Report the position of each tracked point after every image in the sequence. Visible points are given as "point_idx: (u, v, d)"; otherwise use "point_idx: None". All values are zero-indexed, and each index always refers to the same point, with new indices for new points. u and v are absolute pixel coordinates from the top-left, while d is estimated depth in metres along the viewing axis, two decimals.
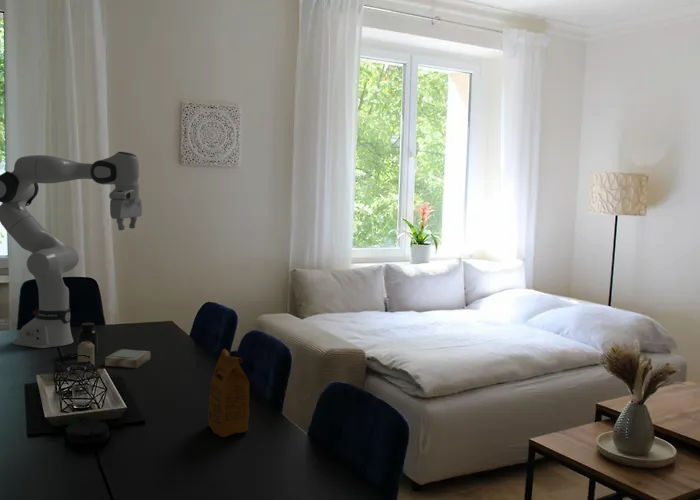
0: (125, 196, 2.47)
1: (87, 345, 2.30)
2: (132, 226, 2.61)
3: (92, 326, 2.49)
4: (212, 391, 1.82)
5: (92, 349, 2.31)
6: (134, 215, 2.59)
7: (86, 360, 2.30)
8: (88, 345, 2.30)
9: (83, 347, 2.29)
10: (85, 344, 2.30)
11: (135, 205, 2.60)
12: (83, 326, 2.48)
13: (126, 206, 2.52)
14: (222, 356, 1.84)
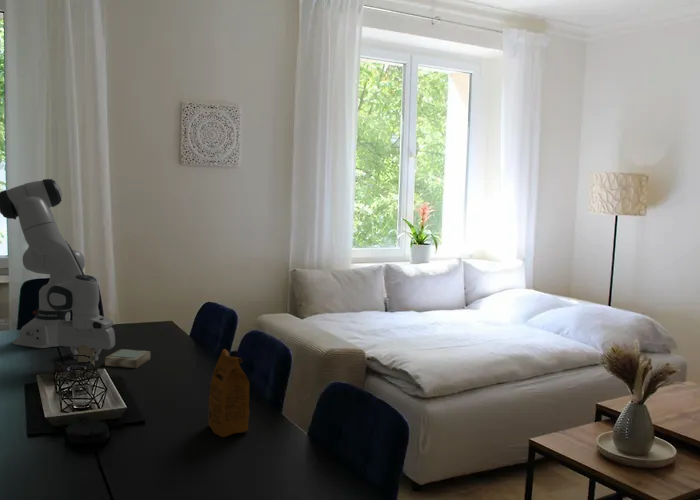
0: None
1: None
2: None
3: None
4: (212, 391, 1.82)
5: (92, 349, 2.31)
6: None
7: (86, 360, 2.30)
8: None
9: (83, 347, 2.29)
10: None
11: None
12: None
13: None
14: (222, 356, 1.84)
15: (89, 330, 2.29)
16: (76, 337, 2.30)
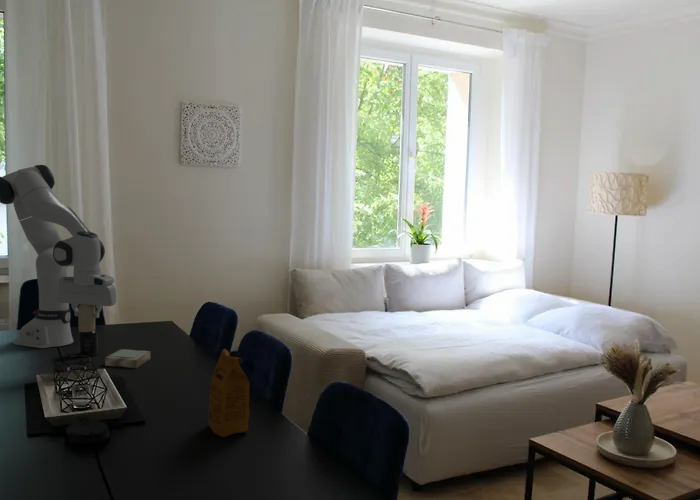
0: None
1: (88, 305, 2.29)
2: None
3: None
4: (212, 391, 1.82)
5: (93, 310, 2.30)
6: None
7: (87, 320, 2.28)
8: (89, 305, 2.29)
9: (84, 307, 2.28)
10: None
11: None
12: None
13: None
14: (222, 356, 1.84)
15: (90, 287, 2.27)
16: (77, 294, 2.28)
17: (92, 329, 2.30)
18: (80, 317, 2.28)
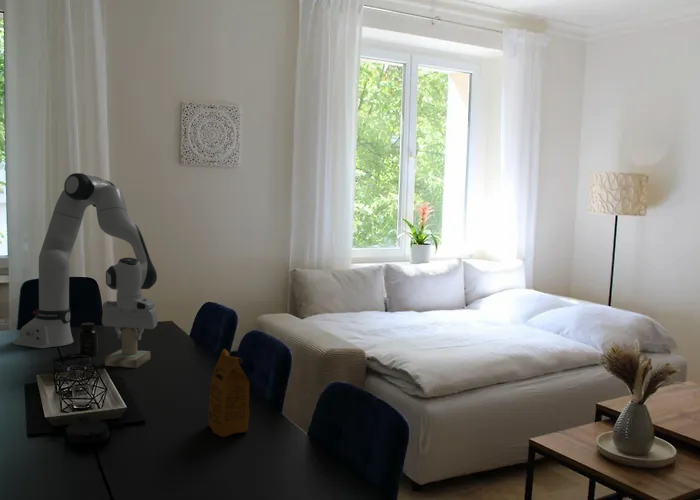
0: None
1: (131, 330, 2.41)
2: None
3: (92, 326, 2.49)
4: (212, 391, 1.82)
5: (135, 334, 2.42)
6: None
7: (130, 344, 2.41)
8: (132, 330, 2.41)
9: (127, 332, 2.40)
10: (129, 329, 2.41)
11: None
12: (83, 326, 2.48)
13: None
14: (222, 356, 1.84)
15: (133, 311, 2.39)
16: (120, 317, 2.40)
17: (135, 352, 2.42)
18: (124, 341, 2.40)
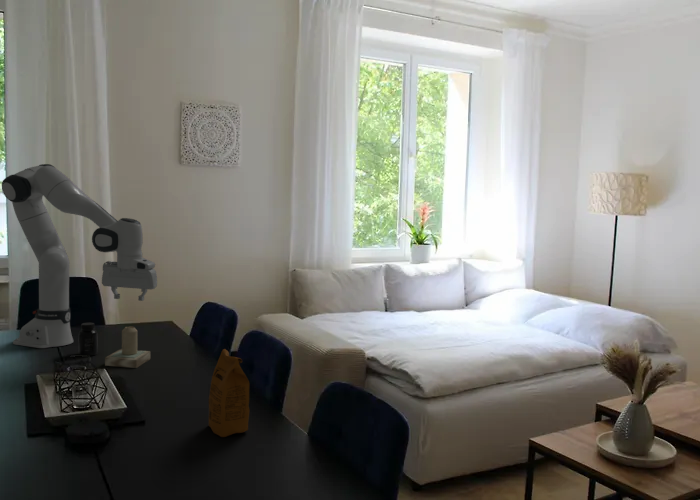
0: None
1: (131, 330, 2.41)
2: (119, 296, 2.43)
3: (92, 326, 2.49)
4: (212, 391, 1.82)
5: (136, 333, 2.42)
6: None
7: (130, 344, 2.41)
8: (132, 330, 2.41)
9: (127, 331, 2.40)
10: (129, 329, 2.41)
11: None
12: (83, 326, 2.48)
13: None
14: (222, 356, 1.84)
15: (133, 271, 2.39)
16: (120, 277, 2.40)
17: (135, 352, 2.42)
18: (124, 341, 2.40)
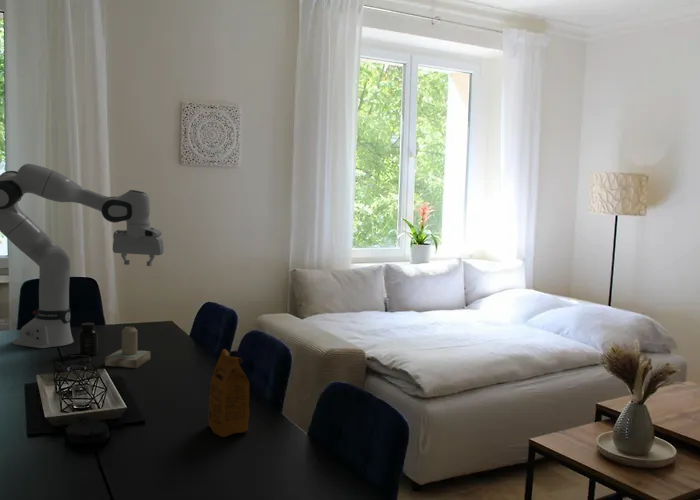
0: None
1: (131, 330, 2.41)
2: (128, 262, 2.64)
3: (92, 326, 2.49)
4: (212, 391, 1.82)
5: (136, 334, 2.42)
6: None
7: (130, 344, 2.41)
8: (132, 330, 2.41)
9: (127, 331, 2.40)
10: (129, 329, 2.41)
11: None
12: (83, 326, 2.48)
13: None
14: (222, 356, 1.84)
15: (141, 238, 2.60)
16: (130, 245, 2.61)
17: (135, 352, 2.42)
18: (124, 341, 2.40)
